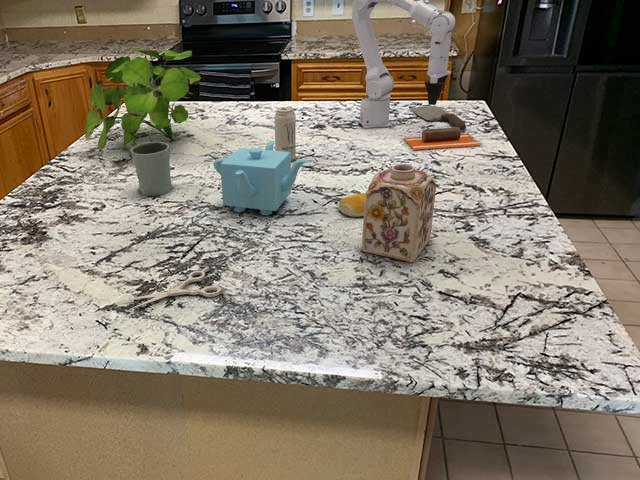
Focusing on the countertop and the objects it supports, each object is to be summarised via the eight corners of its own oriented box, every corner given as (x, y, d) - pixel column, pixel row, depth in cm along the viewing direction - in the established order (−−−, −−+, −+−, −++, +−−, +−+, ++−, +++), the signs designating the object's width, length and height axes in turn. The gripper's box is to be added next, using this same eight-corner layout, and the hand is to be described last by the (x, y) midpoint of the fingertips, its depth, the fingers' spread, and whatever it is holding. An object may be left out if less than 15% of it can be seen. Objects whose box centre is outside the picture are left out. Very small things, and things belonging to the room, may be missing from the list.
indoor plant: (217, 140, 179) (158, 49, 163) (109, 199, 195) (45, 121, 179) (231, 85, 212) (182, 5, 197) (137, 139, 228) (86, 69, 213)
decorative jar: (413, 264, 125) (422, 181, 115) (360, 252, 130) (364, 172, 121) (431, 240, 133) (441, 161, 123) (380, 230, 138) (386, 154, 129)
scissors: (229, 288, 119) (131, 317, 112) (229, 292, 119) (132, 320, 112) (207, 266, 127) (115, 291, 120) (208, 269, 127) (116, 295, 120)
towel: (414, 150, 183) (414, 149, 182) (404, 139, 192) (404, 138, 192) (480, 146, 183) (480, 144, 183) (466, 135, 192) (466, 133, 192)
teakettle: (211, 200, 159) (206, 145, 151) (275, 186, 164) (274, 132, 157) (240, 227, 144) (236, 168, 136) (309, 211, 150) (310, 153, 142)
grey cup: (180, 185, 169) (175, 143, 162) (161, 199, 161) (156, 155, 155) (149, 181, 173) (143, 140, 166) (129, 194, 165) (123, 151, 159)
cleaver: (472, 130, 195) (473, 123, 194) (443, 133, 194) (444, 126, 193) (434, 108, 220) (434, 102, 219) (408, 110, 219) (408, 104, 218)
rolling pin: (424, 143, 187) (426, 133, 185) (420, 138, 190) (422, 127, 187) (459, 141, 187) (461, 130, 185) (455, 135, 190) (457, 125, 188)
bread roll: (383, 210, 148) (384, 195, 146) (355, 220, 144) (356, 204, 142) (359, 200, 154) (360, 185, 152) (332, 209, 150) (333, 194, 148)
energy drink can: (285, 164, 178) (284, 113, 170) (271, 160, 182) (270, 109, 174) (299, 159, 182) (299, 108, 174) (285, 155, 186) (284, 105, 178)
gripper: (449, 61, 179) (443, 108, 186) (455, 52, 190) (449, 96, 197) (425, 60, 181) (420, 107, 189) (432, 51, 192) (427, 95, 200)
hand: (433, 101), depth 193 cm, fingers open, 7 cm apart
